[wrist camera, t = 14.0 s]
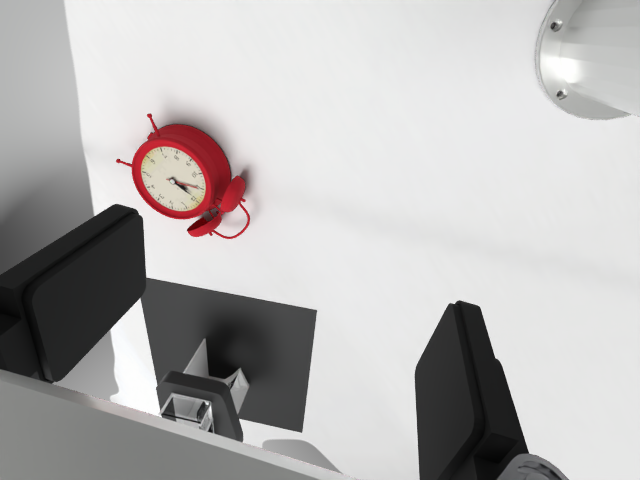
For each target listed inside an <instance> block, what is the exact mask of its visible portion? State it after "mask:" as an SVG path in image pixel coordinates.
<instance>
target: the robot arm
mask: <svg viewBox="0 0 640 480" xmlns="http://www.w3.org/2000/svg"><path fill="white" fill-rule="evenodd" d="M553 22H555V24H556V25H555V28H554V29H551V28H550V27H551V24H552V23H553ZM535 65H536V74H537V77H538V80H539V83H540V86H541V88H542V90H543V91H544V93H545V95H546V96H547V98H548V99H549V100H550V101H551V102H552V103H553V104H555V105H556V106H557V107H558V108H560V109H562V110H563V111H565V112H567V113H569V114H572V115H574V116H576V117H580V118H585V119H590V120H610V119H616V118H622V117H626V116H629V115H632V114H633V115H635V116H638V117H640V0H556V1H555V2H554V4H553V5H552V7H551V8H550V10H549V11H548V14H547V16H546V18H545V20H544V22H543V25H542V27H541V30H540V33H539V37H538V41H537V44H536V55H535ZM560 90H561V94H560V95H559V96H556V95H557V93H558V91H560ZM145 289H146V269H145V249H144V230H143V218H142V216H140V215H139V213H138V211H137V210H136V209H133V208H130V207H126V206H123V205H119V204H115V205H112V206H111V207H109V208H107V209H106V210H104V211H103V212H101V213H99V214H98V215H96V216H95V217H93V218H91V219H90V220H88V221H87V222H85V223H83V224H82V225H80V226H78V227H77V228H75V229H74V230H72V231H70V232H69V233H67V234H66V235H64V236H63V237H61V238H59V239H58V240H56V241H54V242H53V243H51V244H50V245H48V246H46V247H45V248H43V249H41V250H40V251H38V252H37V253H35V254H33V255H32V256H30V257H29V258H27V259H25V260H24V261H22V262H21V263H19V264H17V265H16V266H14V267H13V268H11V269H9V270H8V271H6V272H5V273H3V274H1V275H0V480H359V479H356V478H353V477H350V476H347V475H344V474H340V473H338V472H334V471H331V470H328V469H325V468H322V467H319V466H315V465H312V464H309V463H306V462H302V461H300V460H296V459H293V458H290V457H287V456H284V455H280V454H277V453H274V452H271V451H268V450H265V449H262V448H258V447H255V446H252V445H249V444H246V443H242V442H239V441H236V440H233V439H230V438H226V437H223V436H220V435H217V434H213V433H210V432H207V431H204V430H201V429H197V428H194V427H191V426H188V425H184V424H181V423H178V422H175V421H171V420H168V419H165V418H162V417H159V416H155V415H152V414H149V413H146V412H142V411H139V410H136V409H133V408H129V407H126V406H123V405H119V404H116V403H113V402H110V401H106V400H103V399H100V398H96V397H93V396H90V395H87V394H83V393H80V392H77V391H73V390H70V389H67V388H63V387H60V386H57V385H54V384H52V383H53V382H58V381H60V380H62V379H63V378H64V377H65V376H66V375H67V374H68V373H69V372H70V371H71V370H72V369H73V368H74V367H75V365H76V364H77V363H78V362H79V361H80V360H81V359H82V358H83V357H84V356H85V355H86V354H87V353H88V352H89V351H90V350H91V349H92V348H93V347H94V345H96V343H97V342H98V341H99V340H100V339H101V338H102V337H103V336H104V335H105V334H106V333H107V332H108V331H109V330H110V329H111V328H112V327H113V326H114V325H115V324H116V323H117V321H118V320H119V319H120V318H121V317H122V316H123V315H124V314H125V313H126V312H127V311H128V310H129V309H130V308H131V307H132V306H133V305H134V304H135V303H136V302H137V301H138V300H139V298H140V297H141V296H142V295H143V293H144V292H145ZM415 391H416V412H417V433H418V453H419V474H420V480H569V479H568V478H567V477H566V476H565V475H564V474H563V473H562V472H561V471H560V470H559V469H558V468H557V467H555V466H554V465H553V464H551V463H550V462H549V461H547V460H545V459H543V458H541V457H539V456H537V455H532V454H529V452H528V449H527V445H526V442H525V439H524V436H523V432H522V429H521V426H520V423H519V419H518V416H517V413H516V410H515V407H514V403H513V400H512V397H511V394H510V390H509V387H508V384H507V381H506V377H505V374H504V371H503V368H502V365H501V363H500V361H499V360H497V359H495V356H494V353H493V349H492V346H491V342H490V339H489V336H488V332H487V329H486V325H485V322H484V319H483V315H482V312H481V309H480V307H479V306H477V305H474V304H470V303H467V302H463V301H460V300H459V301H457V302H456V303H455V304H452V303H450V304H449V305H448V306H447V308H446V310H445V312H444V314H443V316H442V318H441V320H440V321H439V323H438V325H437V327H436V329H435V331H434V333H433V335H432V337H431V339H430V341H429V343H428V344H427V346H426V348H425V350H424V352H423V354H422V356H421V358H420V360H419V362H418V364H417V366H416V370H415Z"/></svg>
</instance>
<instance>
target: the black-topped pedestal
mask: <svg viewBox="0 0 640 480" xmlns="http://www.w3.org/2000/svg"><path fill="white" fill-rule="evenodd" d="M141 303H142V308H143V313H144V318H145V323H146V328H147V333H148V339H149V344H150V349H151V354H152V359H153V364H154V370H155V375H156V380H157V385H158V386H157V387H156V390H157V395H158V400H159V405H160V413H159V414H158V415H159V416H162V418H165V419H168V420H171V421H175V422H178V423H181V424H184V425H188V426H191V427H194V428H197V429H201V430H204V431H207V432H210V433H213V434H217V435H220V436H223V437H226V438H230V439H233V440H236V441H239V442H243V431H242V428H241V425H240V422H239V419H243V420H248V421H252V422H257V423H261V424H266V425H270V426H275V427H279V428H283V429H288V430H292V431H297V432H301V433H302V429H303V421H304V413H305V405H306V396H307V388H308V380H309V371H310V363H311V355H312V347H313V338H314V330H315V322H316V313H317V310H312V309H307V308H301V307H296V306H291V305H286V304H280V303H275V302H270V301H265V300H259V299H254V298H249V297H244V296H238V295H233V294H228V293H223V292H217V291H212V290H207V289H202V288H197V287H191V286H186V285H181V284H176V283H170V282H165V281H160V280H155V279H149V278H146V289H145V292H144V293H143V295H142V296H141Z"/></svg>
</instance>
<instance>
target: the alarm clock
mask: <svg viewBox="0 0 640 480" xmlns="http://www.w3.org/2000/svg"><path fill="white" fill-rule="evenodd" d="M147 117H149V118H150V120H151V123H152V125H153V128H154V130H155V132H154V133H153V134H152V132H151V133H150V135H149V136H148V138H147V139H148V141H146V142H145V143H144V144H142V145H141V146H140V148H139V149H138V150H137V152H136V153H135V156H134V158H133V161H132V164H130V163H126V162H123V161H120V159H117V160H116V162H117V163H123V164H125V165H127V166H130V167H132V176H133V181H134V184H135V186H136V188H137V190H138V192H139V194H140V195H141V197H142V198H143V199H144V200H145V201H146V203H147V204H148V205H150V206H151V207H152V208H153V209H154V210H156V211H157V212H159V213H161V214H163V215H165V216H167V217H170V218H174V219H190V218H194V217H197V216H199V215H201V214H203V213H204V212H206V211H209V213H210V214H211V216H212V218H213V219H212V220H211V221H207V220H206V219H205V218H204V217H202V218H201V219H199V220H197V221H196V222H195V223H193V224H192V225H191V226H190V227H189V228H188V229H187V231H188V233H189V234H190V235H191V236H193V237H199V236H203V235H205V234H208V233H209V234H210V236H212V235H213V234H212V233H211V232H214V233H215V234H217V235H219V236H221V237H223V238H226V239H232V238H236V237H237V236H239V235H240V234H242V233H243V232H244V231H245V230H246V228H247V227H248V225H249V222H250V216H249V214H248V212H247V210H246V209H245V208H244V207H243V205H242V204H241V202H240V201H243V202H245V201H246V200H245V199H243V198H242V197H243V194H244V191H245V182H244V180H243V179H242V178H241V177H239V176H236V177H235V178H234V179H233V180H232V181H231V174H230V168H229V164H228V161H227V159H226V157H225V155H224V153H223V151H222V150H221V148H220V147H219V146H218V145H217V143H216V142H215V141H214V140H213V139H212V138H210V137H209V136H208V135H207V134H205V133H204V132H202V131H200V130H198V129H196V128H194V127H191V126H187V125H180V124H174V125H168V126H165V127H163V128H161V129H159V130H158V129H157V127H156V126H155V124H154V122H153V119H152V114H147ZM220 203H221V207H220V209H221V210H220V209H219V208H218V207H217V206H218V205H219V204H220ZM238 204H239V205H240V206H241V208H242V209H243V210H244V211H245V213H246V214H247V217H248V222H247V224H246V226H245V227H244V229H243V230H242V231H241V232H240V233H238V234H237V235H235V236H232V237H227V236H223V235H221V234H219V233H218V232H216V231H215V230H214V229H215V228H216V227H217V226H218V225H219V224H220V223H221V220H222V217H221V215H223V214H224V213H225V212H231V211H233V210H234V209H235V208H236V207H237V206H238ZM214 208H217V209H218V210H219V211H220V212H221V213H219V212H218V211H217V212H216V213H217V214H218V215H217V216H216V217H215V218H214V216H213V214H212V213H211V211H210V210H212V209H214Z"/></svg>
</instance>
